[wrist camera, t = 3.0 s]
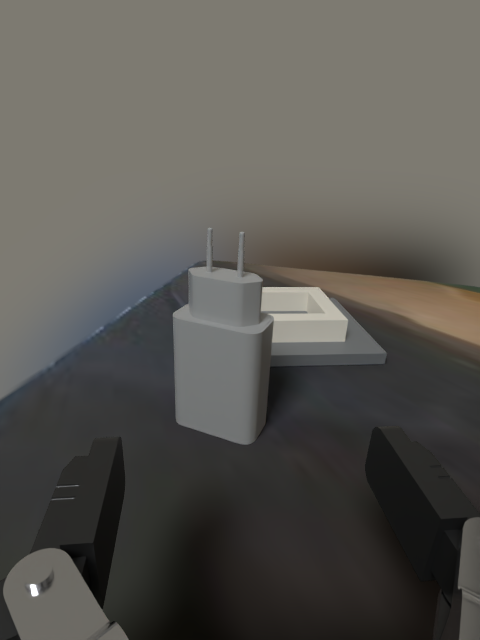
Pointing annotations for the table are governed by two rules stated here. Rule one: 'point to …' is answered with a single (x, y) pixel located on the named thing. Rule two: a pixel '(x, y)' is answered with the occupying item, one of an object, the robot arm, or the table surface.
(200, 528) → the table surface
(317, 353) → the docking plate
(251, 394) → the power adapter
